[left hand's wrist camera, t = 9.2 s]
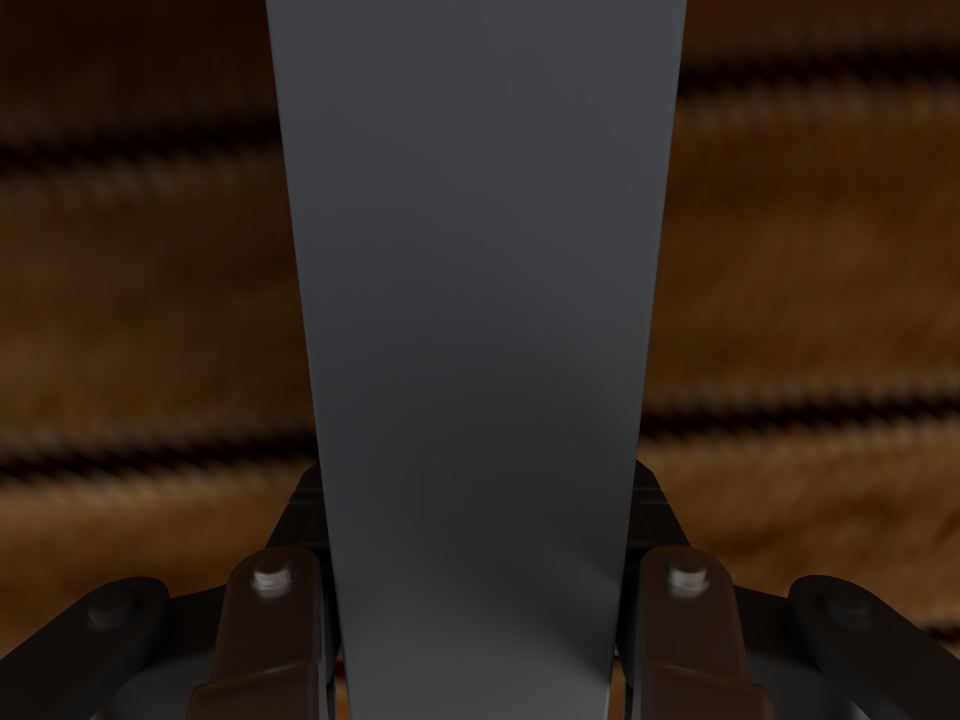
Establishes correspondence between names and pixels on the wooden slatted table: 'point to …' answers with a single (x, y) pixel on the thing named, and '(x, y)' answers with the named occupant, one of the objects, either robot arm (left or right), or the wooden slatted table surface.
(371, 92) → the beam
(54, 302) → the wooden slatted table surface
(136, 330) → the wooden slatted table surface
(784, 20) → the wooden slatted table surface
